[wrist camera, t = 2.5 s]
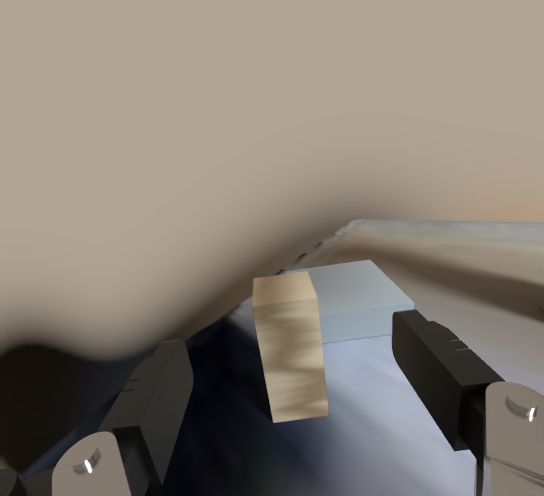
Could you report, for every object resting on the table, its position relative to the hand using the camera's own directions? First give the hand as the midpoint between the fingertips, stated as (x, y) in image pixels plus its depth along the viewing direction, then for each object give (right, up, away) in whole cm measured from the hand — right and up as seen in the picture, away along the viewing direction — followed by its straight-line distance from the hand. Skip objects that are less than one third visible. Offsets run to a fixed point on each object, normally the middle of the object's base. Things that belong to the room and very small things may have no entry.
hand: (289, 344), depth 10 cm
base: (+9, -5, +29) cm, 31 cm away
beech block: (+2, -11, +16) cm, 20 cm away
